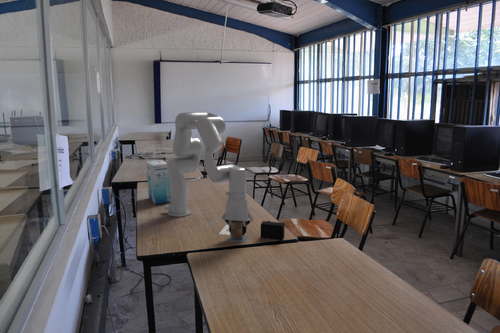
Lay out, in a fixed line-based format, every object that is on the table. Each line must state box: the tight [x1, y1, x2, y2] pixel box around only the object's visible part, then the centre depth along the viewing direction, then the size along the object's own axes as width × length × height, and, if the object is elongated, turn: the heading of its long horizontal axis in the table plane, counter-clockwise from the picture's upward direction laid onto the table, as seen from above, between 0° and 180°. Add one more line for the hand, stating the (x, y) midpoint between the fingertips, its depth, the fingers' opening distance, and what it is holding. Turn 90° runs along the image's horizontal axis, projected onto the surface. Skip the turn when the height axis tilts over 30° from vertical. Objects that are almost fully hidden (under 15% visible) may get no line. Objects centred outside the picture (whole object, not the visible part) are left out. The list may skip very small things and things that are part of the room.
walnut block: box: [231, 221, 243, 238], centre depth 170 cm, size 5×5×7 cm
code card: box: [218, 224, 230, 236], centre depth 182 cm, size 8×13×1 cm, turn 169°
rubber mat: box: [225, 234, 250, 244], centre depth 171 cm, size 9×9×1 cm
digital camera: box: [260, 220, 286, 241], centre depth 172 cm, size 10×5×7 cm, turn 75°
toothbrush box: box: [145, 159, 170, 206], centre depth 231 cm, size 18×10×24 cm, turn 27°
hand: (237, 233), depth 170 cm, fingers closed on walnut block, 5 cm apart
